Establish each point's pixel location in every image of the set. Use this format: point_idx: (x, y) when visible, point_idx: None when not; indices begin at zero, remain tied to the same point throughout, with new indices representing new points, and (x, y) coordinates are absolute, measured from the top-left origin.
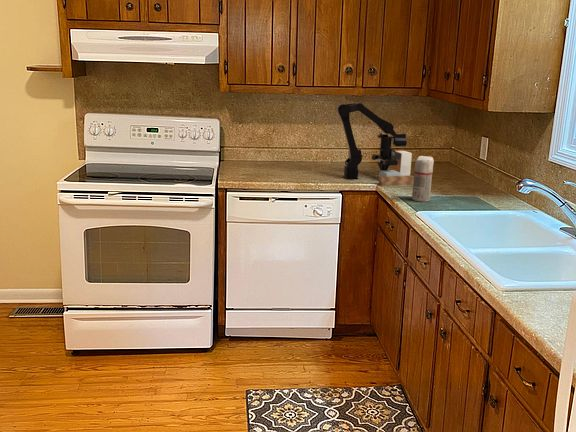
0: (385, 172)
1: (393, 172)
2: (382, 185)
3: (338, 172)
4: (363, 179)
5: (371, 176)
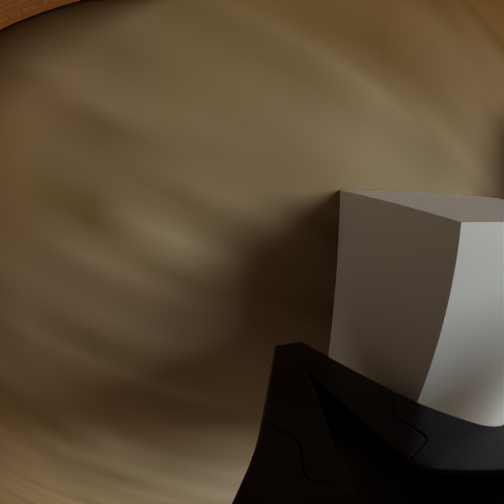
0: (496, 423)
1: None
2: None
3: (14, 498)
4: None
5: (100, 412)
